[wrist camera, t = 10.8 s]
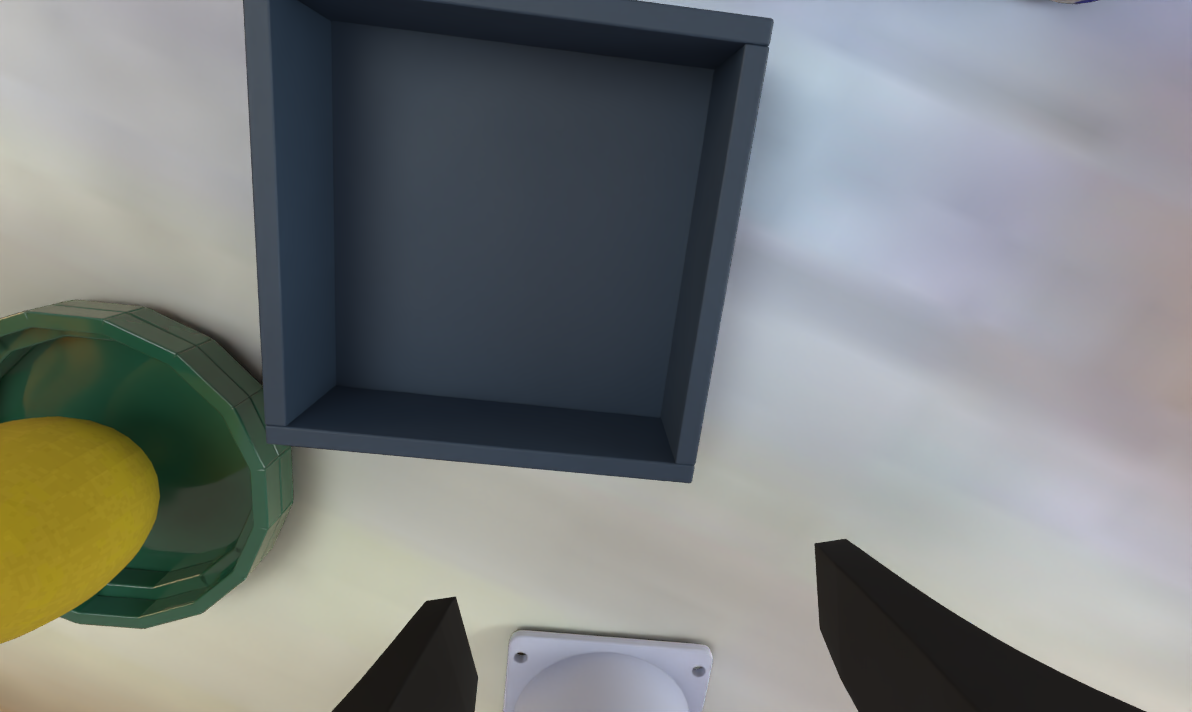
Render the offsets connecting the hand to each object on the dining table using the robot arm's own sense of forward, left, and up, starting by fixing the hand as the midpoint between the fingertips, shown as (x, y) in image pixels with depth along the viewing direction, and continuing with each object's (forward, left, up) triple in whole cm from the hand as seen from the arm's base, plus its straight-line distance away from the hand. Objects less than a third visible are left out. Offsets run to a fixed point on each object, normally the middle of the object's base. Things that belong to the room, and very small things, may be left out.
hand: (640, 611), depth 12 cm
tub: (+6, +4, -9) cm, 12 cm away
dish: (-3, +17, -9) cm, 19 cm away
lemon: (-3, +17, -9) cm, 19 cm away
